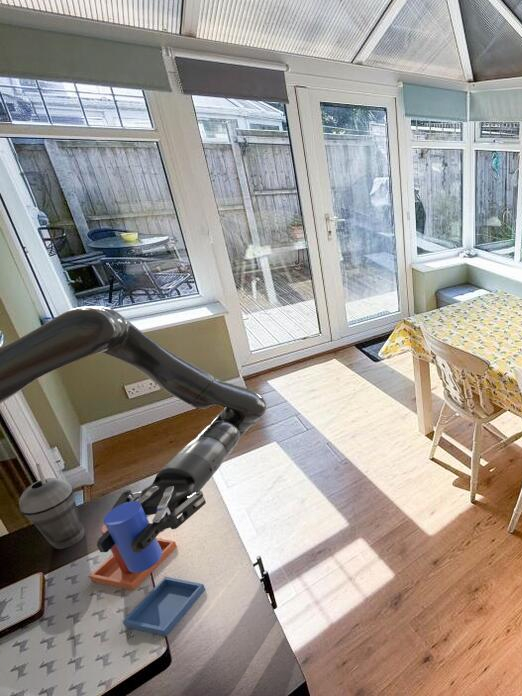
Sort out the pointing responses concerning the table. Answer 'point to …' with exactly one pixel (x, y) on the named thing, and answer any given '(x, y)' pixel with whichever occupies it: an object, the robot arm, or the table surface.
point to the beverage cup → (53, 510)
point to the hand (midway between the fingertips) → (118, 548)
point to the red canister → (117, 555)
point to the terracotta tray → (114, 577)
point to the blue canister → (131, 536)
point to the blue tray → (164, 606)
